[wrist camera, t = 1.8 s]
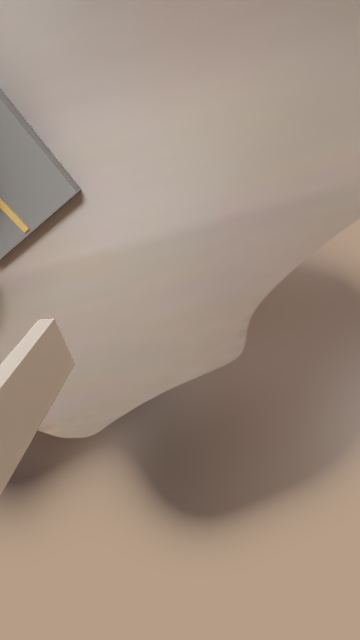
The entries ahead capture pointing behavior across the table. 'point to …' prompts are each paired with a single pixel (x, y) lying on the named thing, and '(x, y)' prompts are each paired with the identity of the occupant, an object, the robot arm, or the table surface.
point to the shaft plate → (27, 179)
